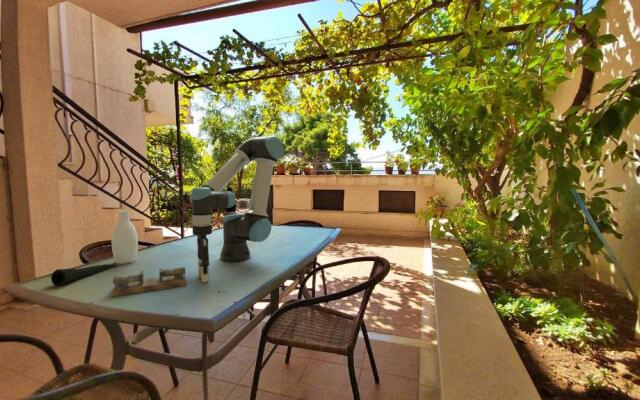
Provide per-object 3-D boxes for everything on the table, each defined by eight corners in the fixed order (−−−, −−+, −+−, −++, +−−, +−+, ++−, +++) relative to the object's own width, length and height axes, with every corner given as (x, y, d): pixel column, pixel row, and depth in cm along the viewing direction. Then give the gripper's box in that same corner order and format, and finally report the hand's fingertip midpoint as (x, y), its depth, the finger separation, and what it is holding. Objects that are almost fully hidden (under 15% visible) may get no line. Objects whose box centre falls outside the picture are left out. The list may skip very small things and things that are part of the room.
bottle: (133, 257, 157) (131, 209, 155) (142, 260, 151) (140, 210, 149) (108, 262, 148) (106, 211, 146) (117, 266, 142) (115, 212, 140)
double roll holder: (184, 278, 125) (184, 264, 125) (186, 285, 117) (186, 270, 117) (115, 288, 114) (115, 272, 113) (112, 296, 106) (111, 279, 105)
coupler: (208, 276, 128) (207, 260, 128) (209, 279, 125) (209, 263, 124) (198, 277, 126) (197, 261, 126) (199, 280, 123) (198, 264, 122)
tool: (63, 288, 114) (62, 271, 114) (50, 286, 116) (49, 269, 115) (125, 267, 141) (124, 253, 141) (113, 266, 143) (113, 252, 142)
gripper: (189, 221, 132) (191, 271, 133) (195, 229, 112) (196, 287, 114) (207, 220, 135) (209, 269, 137) (216, 228, 116) (217, 284, 117)
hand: (203, 277), depth 125 cm, fingers open, 9 cm apart
